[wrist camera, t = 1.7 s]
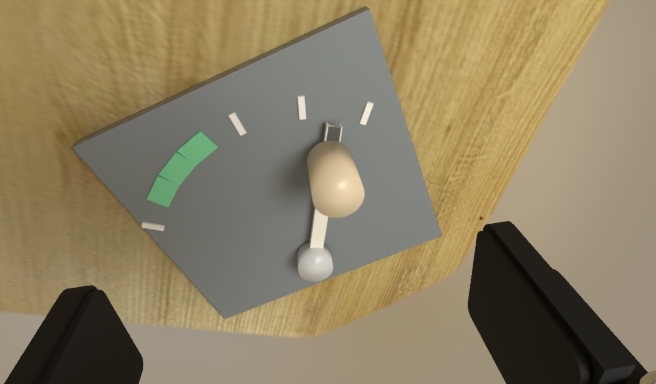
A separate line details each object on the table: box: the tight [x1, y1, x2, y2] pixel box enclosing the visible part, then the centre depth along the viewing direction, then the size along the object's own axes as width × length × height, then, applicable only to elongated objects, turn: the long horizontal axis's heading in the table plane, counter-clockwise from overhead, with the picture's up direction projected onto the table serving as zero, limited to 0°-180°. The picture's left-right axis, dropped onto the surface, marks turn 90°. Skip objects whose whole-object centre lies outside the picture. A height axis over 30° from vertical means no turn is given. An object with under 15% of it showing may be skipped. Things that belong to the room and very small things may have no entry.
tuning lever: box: [297, 122, 365, 282], centre depth 31 cm, size 15×4×6 cm, turn 172°
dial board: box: [72, 6, 442, 319], centre depth 34 cm, size 24×22×2 cm
